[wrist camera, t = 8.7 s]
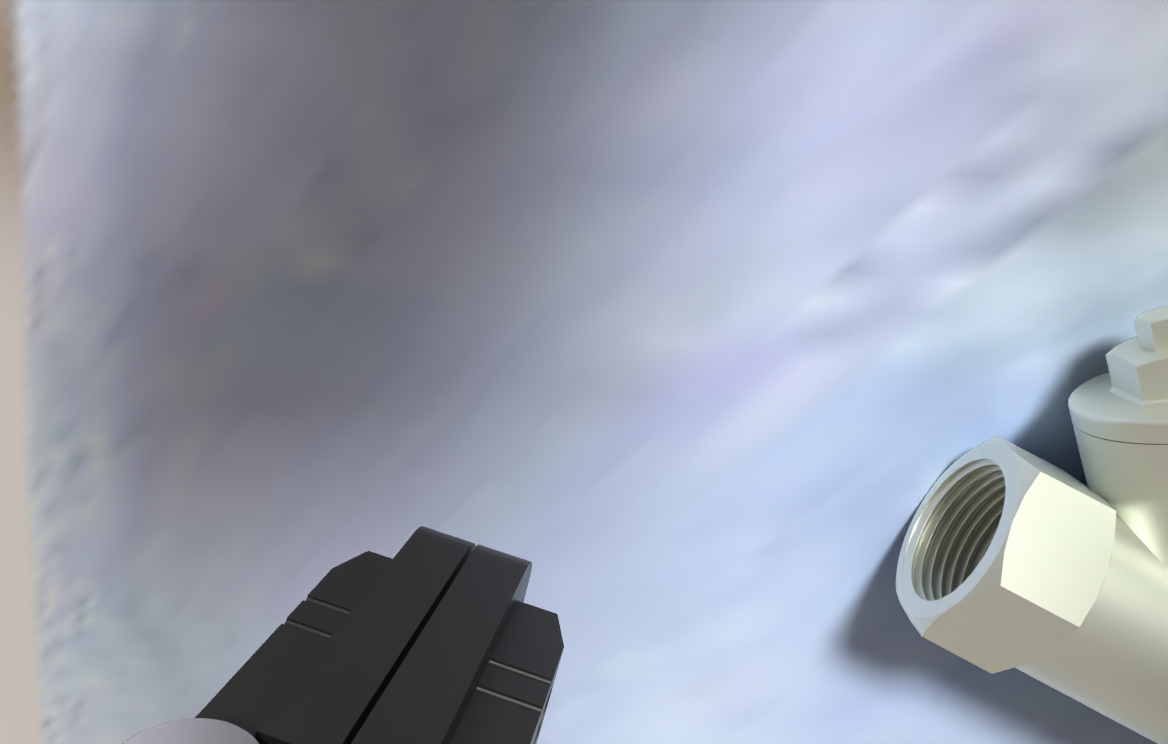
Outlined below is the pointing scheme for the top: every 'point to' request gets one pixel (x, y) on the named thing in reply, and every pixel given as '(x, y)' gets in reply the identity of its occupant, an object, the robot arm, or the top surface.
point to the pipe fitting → (1061, 548)
